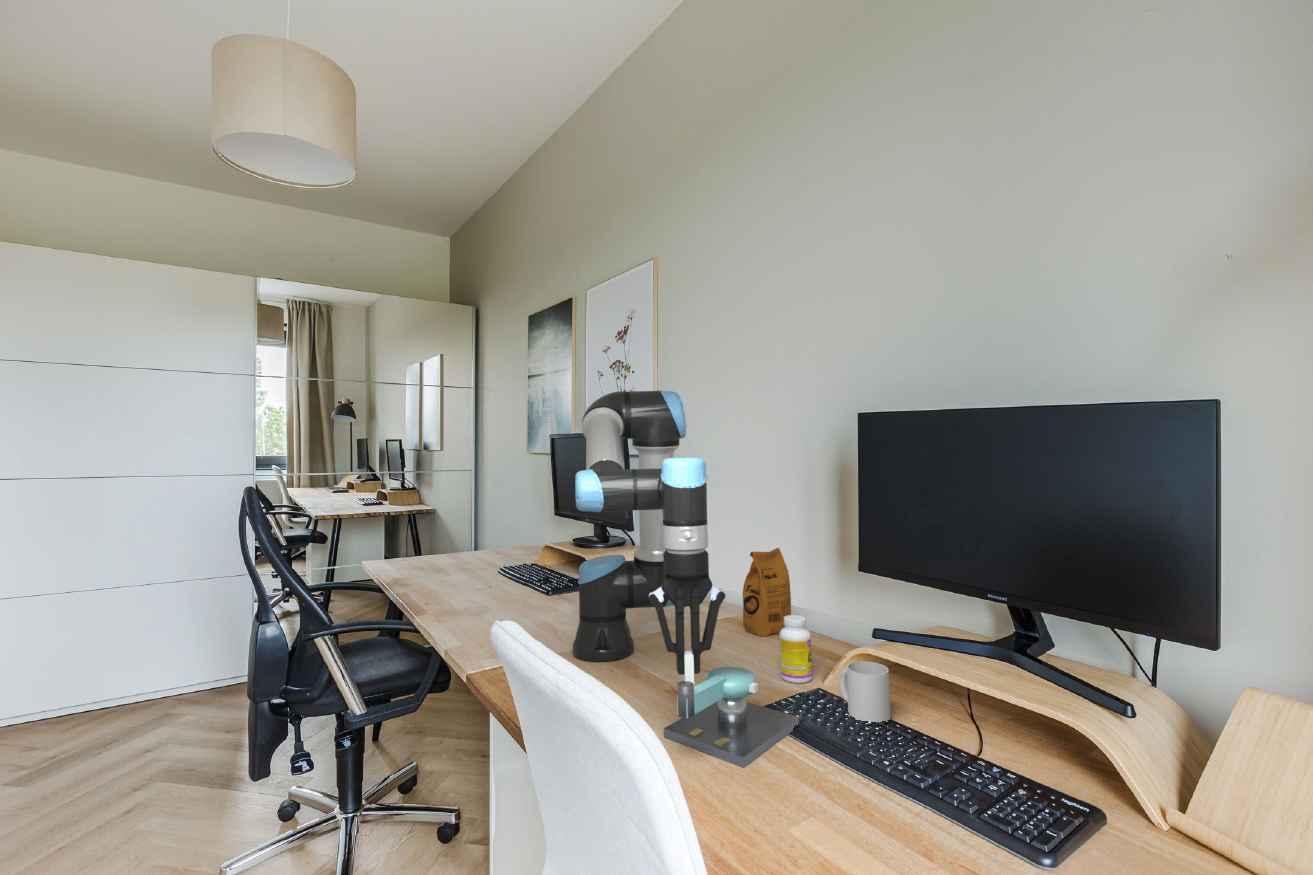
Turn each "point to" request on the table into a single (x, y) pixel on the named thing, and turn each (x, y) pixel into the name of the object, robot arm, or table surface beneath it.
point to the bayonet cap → (714, 689)
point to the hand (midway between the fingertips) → (689, 692)
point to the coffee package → (766, 594)
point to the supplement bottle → (795, 650)
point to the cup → (866, 690)
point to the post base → (732, 730)
